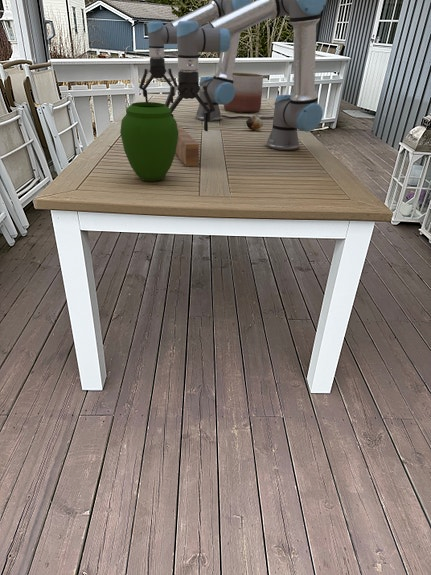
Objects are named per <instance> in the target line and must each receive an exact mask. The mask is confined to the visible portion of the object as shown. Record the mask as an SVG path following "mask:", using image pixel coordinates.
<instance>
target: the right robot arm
mask: <svg viewBox="0 0 431 575" xmlns="http://www.w3.org/2000/svg"><path fill="white" fill-rule="evenodd" d="M326 5H327V0H254V1H253V2H251V3H249V4H247V5H245V6H243V7H241V8H239V9H237V10H235V11H233V12H231V13H229V14H226V15H224V16H222V17H220V18H218V19H216V20H214V19H213V20H211V21H209V22H207V23H205V24H203V25H201V26H198V22H197V21H179V22H178V24H177V44H176V45H177V46H176V47H177V70H178V72H177V78H178V80H177V81H178V83H177V85H178V87H176V86H174V85H173V84H172V85H173V86H172V85H171V86H169V92H168V95H167V98H166V100H165V103H164V104H165V105H166V106H167V107H168V108H169V109H171V115H172V116H173V117H174V114H173V112H174V111H175V110H176V108H177V107H178V106H179V104H180V102H182V100H183V99H184V100H189V99H190V100H194V99H196V101H197V102H198V104H199V103H200V104H201V106H202V107H203V108H204V109H205V111H206V113H204V121H203V130H204V131H205V132H209V128H208V127H209V123H210V122H211V121H210V114H211V112H214V111H215V108H214V106H213V104H212V101H211V99H210V97H209V94H208V92H207V86H206V85H203V86H200V85H199V84H200V79H199V78H200V77H199V53H219V54H221V52H227V51H228V50H229V47H230V43H231V36H233V35H235V34H238V33H240V32H241V33H242V32H243V31H246V30H248V29H250V28H252V27H254V26H257V25H259V24H260V23H263V22H264V21H267V20H269V19H270V20H275V19H277V18H280V17H286V16H289V18H288V19H289V24H290V25H291V26H292V27H293V94H278V95H276V97H275V102H274V110H273V117H274V118H272V127H271V128H272V129H271V131H270V134H269V136H268V138H267V141H266V147H267V148H268V149H272V150H277V151H286V152H287V151H297V150H298V149H299V146H300V140H299V135H298V131H300V132H306V133H307V132H312V131H313V130H315V129H317V127H318V126H319V125H320V124H321V122H322V120H323V115H324V110H323V107H322V106H321V105H320V104H319V95H318V94H317V92H316V91H315V85H316V84H315V83H316V47H317V46H316V45H317V44H316V43H317V42H316V41H317V39H316V38H317V24H318V23H319V22H320V20H321V13H322V11H323V10H324V8H325V7H326ZM200 89H201V91H202V92H203V94H204V96H205V98H206V100H207V103H208V105H209V107H210V109H209V108H208V107H207V106H206V105H205V103H204V102H203V101H202V99H201V98H200V97H199V95H200V94H199V93H200ZM177 92H178V94H177V96H176V99H175V100H173V103H171V100H172V98H173V99H174V96H173V95H174V93H175V94H176V93H177Z"/></svg>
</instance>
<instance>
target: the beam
mask: <svg viewBox="0 0 431 575" xmlns="http://www.w3.org/2000/svg"><path fill="white" fill-rule="evenodd" d="M177 128H178V133H179V134H178V141H177V148H176V153H175V155H176V156H177V157H178V159H179V160H180V161H181V162H182V164H183V165H184V166H185V167H199V159H200V158H199V154H200V153H199V152H200V151H199V150H200V146H199V145H200V144H199V143H198V142H197V141H196V140H195V139H194V138H193V137H192V136H191V135H190V134H189V133H188V132H187V131H186V130H185V129H184V128H183V127H182V126H180V124H178V123H177Z"/></svg>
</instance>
